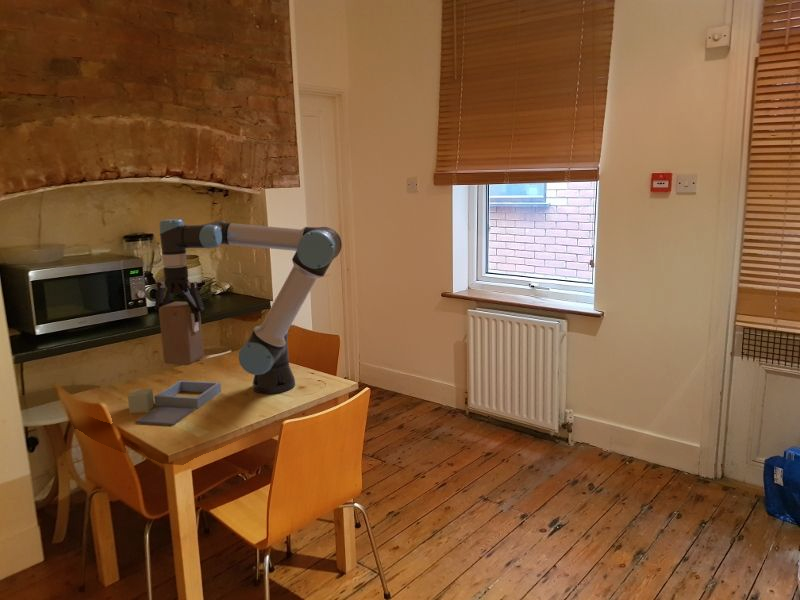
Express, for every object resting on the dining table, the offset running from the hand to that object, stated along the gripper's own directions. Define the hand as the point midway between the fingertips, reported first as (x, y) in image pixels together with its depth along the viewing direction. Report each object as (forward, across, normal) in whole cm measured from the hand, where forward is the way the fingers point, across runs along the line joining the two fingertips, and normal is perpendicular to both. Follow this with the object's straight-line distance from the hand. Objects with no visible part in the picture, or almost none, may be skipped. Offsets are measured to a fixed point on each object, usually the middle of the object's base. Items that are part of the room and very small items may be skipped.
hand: (181, 330), depth 210 cm
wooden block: (+11, 0, 0) cm, 11 cm away
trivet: (+25, -1, +16) cm, 29 cm away
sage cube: (+25, +11, +11) cm, 29 cm away
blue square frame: (+25, 0, 0) cm, 25 cm away
